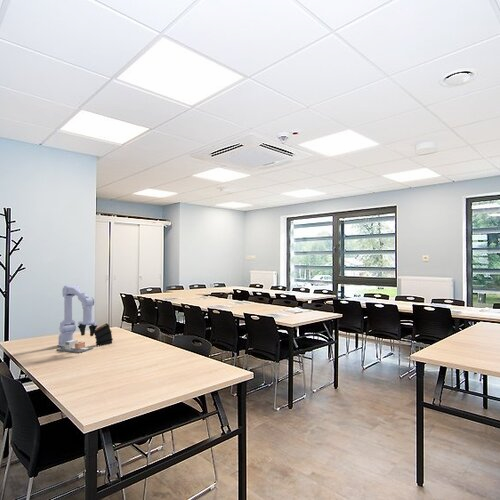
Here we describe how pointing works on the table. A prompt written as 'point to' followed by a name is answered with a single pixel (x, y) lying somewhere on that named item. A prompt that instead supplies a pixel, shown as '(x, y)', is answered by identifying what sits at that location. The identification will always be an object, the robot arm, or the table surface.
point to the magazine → (103, 335)
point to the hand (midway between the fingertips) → (87, 335)
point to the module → (70, 344)
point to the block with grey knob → (79, 345)
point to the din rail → (74, 349)
